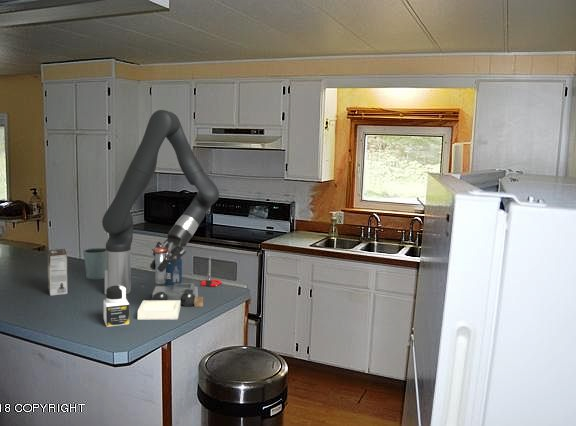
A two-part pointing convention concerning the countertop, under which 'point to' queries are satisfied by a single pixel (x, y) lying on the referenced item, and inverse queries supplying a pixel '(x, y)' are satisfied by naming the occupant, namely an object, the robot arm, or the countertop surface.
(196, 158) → the robot arm
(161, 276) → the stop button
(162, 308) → the tray
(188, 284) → the trolley
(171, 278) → the soda can
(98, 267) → the teal cup
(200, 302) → the block
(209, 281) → the tow hook
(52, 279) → the coffee box
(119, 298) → the medicine bottle
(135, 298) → the countertop surface
